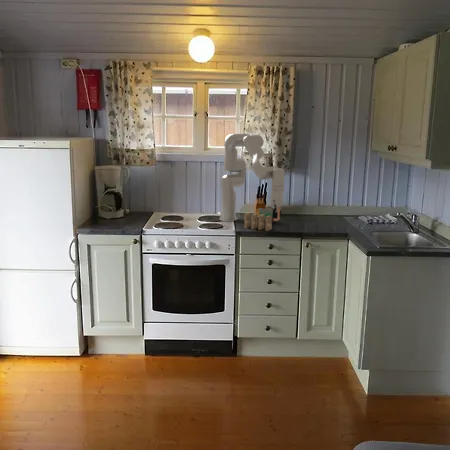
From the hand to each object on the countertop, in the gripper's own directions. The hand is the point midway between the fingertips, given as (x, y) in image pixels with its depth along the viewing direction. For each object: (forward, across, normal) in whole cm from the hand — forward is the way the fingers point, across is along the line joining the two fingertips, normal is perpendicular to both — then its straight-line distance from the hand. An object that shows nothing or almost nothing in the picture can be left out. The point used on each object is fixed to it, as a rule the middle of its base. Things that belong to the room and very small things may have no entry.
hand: (276, 217), depth 294 cm
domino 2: (+9, 0, -15) cm, 18 cm away
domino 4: (+9, 0, -5) cm, 10 cm away
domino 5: (+2, 0, 0) cm, 2 cm away
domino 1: (+9, 0, -20) cm, 22 cm away
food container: (+9, -20, -14) cm, 26 cm away
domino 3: (+9, 0, -10) cm, 14 cm away
